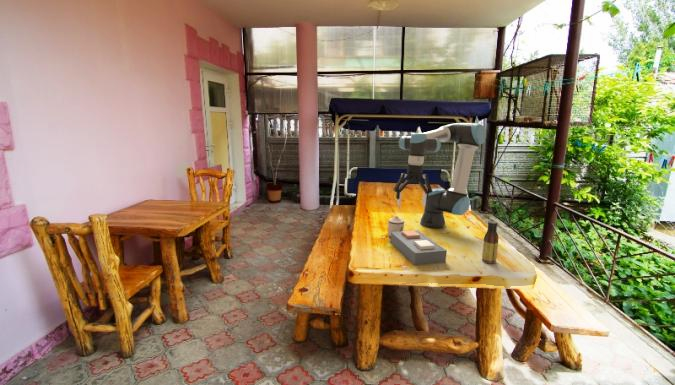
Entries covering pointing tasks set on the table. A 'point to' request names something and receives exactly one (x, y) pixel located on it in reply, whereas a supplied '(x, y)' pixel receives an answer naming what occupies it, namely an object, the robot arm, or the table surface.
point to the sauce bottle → (490, 243)
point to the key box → (414, 252)
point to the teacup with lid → (395, 225)
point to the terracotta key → (410, 234)
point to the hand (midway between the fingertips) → (411, 205)
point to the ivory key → (423, 244)
